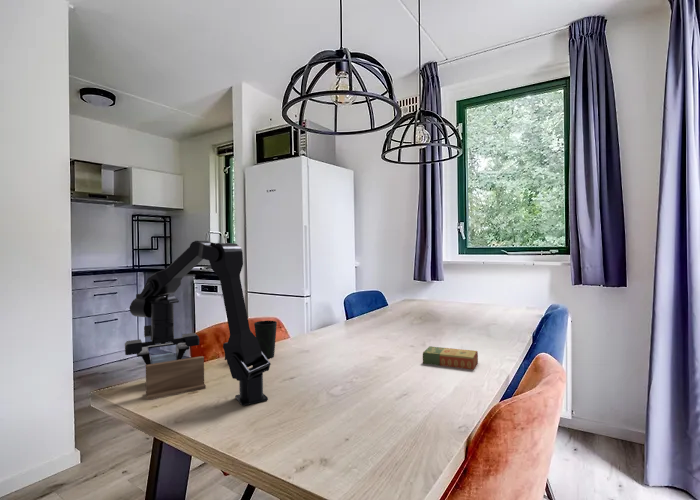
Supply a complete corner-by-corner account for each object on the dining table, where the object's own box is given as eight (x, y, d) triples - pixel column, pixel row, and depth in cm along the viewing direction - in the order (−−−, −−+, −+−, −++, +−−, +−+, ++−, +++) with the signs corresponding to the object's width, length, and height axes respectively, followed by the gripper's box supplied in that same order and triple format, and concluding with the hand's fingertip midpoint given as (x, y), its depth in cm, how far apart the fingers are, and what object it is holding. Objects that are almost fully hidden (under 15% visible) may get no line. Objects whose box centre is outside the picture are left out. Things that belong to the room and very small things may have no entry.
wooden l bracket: (205, 388, 102) (205, 358, 102) (147, 399, 95) (146, 368, 95) (201, 382, 107) (201, 354, 107) (145, 393, 99) (145, 363, 99)
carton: (473, 371, 115) (473, 357, 115) (422, 364, 122) (421, 351, 122) (478, 363, 122) (477, 350, 122) (429, 357, 129) (428, 345, 129)
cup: (271, 360, 127) (271, 325, 127) (250, 359, 129) (250, 324, 129) (280, 354, 135) (280, 320, 135) (260, 353, 136) (260, 320, 136)
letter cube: (176, 378, 107) (176, 357, 107) (152, 383, 104) (152, 361, 104) (173, 372, 112) (173, 352, 112) (150, 376, 109) (150, 356, 109)
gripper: (192, 311, 120) (193, 361, 120) (123, 318, 110) (124, 372, 110) (199, 316, 110) (200, 370, 110) (124, 324, 100) (125, 383, 100)
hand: (163, 373), depth 108 cm, fingers closed on letter cube, 6 cm apart
